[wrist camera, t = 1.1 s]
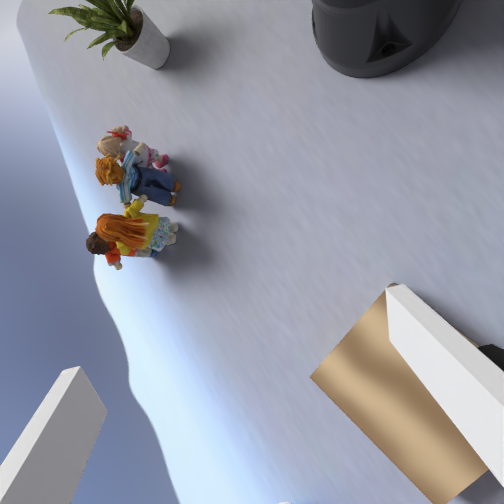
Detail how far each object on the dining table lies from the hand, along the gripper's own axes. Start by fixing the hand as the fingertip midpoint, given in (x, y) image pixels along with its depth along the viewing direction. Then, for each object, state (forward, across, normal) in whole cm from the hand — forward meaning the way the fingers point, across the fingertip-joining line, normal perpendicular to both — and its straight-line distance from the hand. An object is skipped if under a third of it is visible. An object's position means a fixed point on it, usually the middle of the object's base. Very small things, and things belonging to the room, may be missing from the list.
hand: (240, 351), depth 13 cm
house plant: (+52, -5, +23) cm, 57 cm away
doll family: (+40, -10, -1) cm, 41 cm away
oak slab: (+12, +14, -19) cm, 27 cm away
